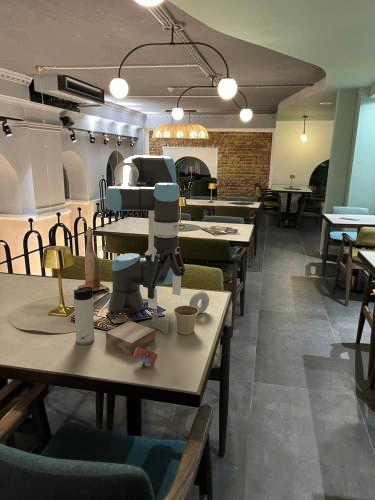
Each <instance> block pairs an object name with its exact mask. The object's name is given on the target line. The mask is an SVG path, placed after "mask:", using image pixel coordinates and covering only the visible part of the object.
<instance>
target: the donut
mask: <svg viewBox="0 0 375 500" xmlns="http://www.w3.org/2000/svg"><path fill="white" fill-rule="evenodd" d="M200 300H201V302H200V304H199V305H198V303H199V301H200ZM209 304H210V297H209V295H208V294H207V292H206V291H203V290H201V291H199V290H198V291H196V292H195V293H194V294H193V295H192V296H191V298H190V300H189V305H188V306H194V307H196V308H197V309H198V310H199V313H198V314H197V315H200V314H202V313H203V314H204V312H205V311H206V310H207V309H208V306H209Z"/></svg>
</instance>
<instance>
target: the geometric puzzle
mask: <svg viewBox="0 0 375 500" xmlns="http://www.w3.org/2000/svg"><path fill="white" fill-rule="evenodd" d="M144 346H145V345H144ZM143 348H144V347H143ZM143 348H140V347H139V346H138V347H137V348H136V349H135V351H134V355H133V359H135V360H138V361H141V362H142V363H141V365H140V368H148V367H150V366H153V367H154V364H155V363H156V360H157V358H158V356H159V354H158V353H155V352H154V351H153V350H154V349H153V347H152V344H150V345H149V347H148V348H147V347H146V346H145V348H147V349H145V348H144V349H143ZM150 349H152V351H151V350H150ZM144 363H146V364H148V365H145V366H144V367H143V365H144Z"/></svg>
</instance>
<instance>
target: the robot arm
mask: <svg viewBox="0 0 375 500" xmlns="http://www.w3.org/2000/svg"><path fill="white" fill-rule="evenodd" d="M113 175H114V179H115V180H114V185H113V186H111V185H109V186H107V187H106V189H105V208H106V209H107V210H109V211H117V212H120V211H123V212H125V211H126V212H127V211H128V212H129V211H135V212H136V211H137V212H138V211H139V212H140V211H142V212H148V249H147V250H146V252H144V257H141V256H140V253H132V252H130V253H123V254H120V255H117V256H116V257H114V258H113V259H112V262H111V272H112V273H111V274H112V277H111V278H112V280H111V281H112V285H111V286H112V291H111V295H110V297H109V301H108V309H109V311H111V313H114V312H116V313H115V314H118V313H132V314H134V313H133V312H137V311H139V312H141V311H142V310H144V308H145V300H144V299H143V295H142V292H141V286H142V287H143V288H145V289H147V299H148V300H147V308H148V309H149V308H150V309H152V310H157V309H158V287H157V285H158V286H160V285H161V286H163V285H171V284H172V288H171V289H172V293H171V294H172V295H175V296H181V292H182V291H181V290H182V286H181V285H182V277H184V276H185V272H186V267H185V264H184V261H183V256H182V248H181V246H179V229H180V226H179V222H180V218H179V217H180V216H179V215H180V198H181V194H180V185H179V184H178V183H177V170H176V165H175V161H174V159H173V158H172V157H171V156H166V155H137V154H136V155H131V156H128V157H126V158H123V159H122V160H120V161H119V162H118V163H117V164H116V166H115V168H114V172H113ZM137 185H144V186H137ZM143 307H144V308H143ZM141 309H142V310H141ZM140 310H141V311H140ZM137 313H138V312H137Z"/></svg>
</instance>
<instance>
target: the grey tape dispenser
mask: <svg viewBox="0 0 375 500" xmlns="http://www.w3.org/2000/svg"><path fill="white" fill-rule="evenodd" d="M151 315H152V316H151V317H152V318H151V321H150V323H151V325H152V326H153V327H154V328H155V329H158V330H160V331H162V334H164V335H167V334H168V333H169V319H167V318H166V319H164V318H160V319H159V313H158V312H157V311H154V312H152V313H151Z"/></svg>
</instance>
